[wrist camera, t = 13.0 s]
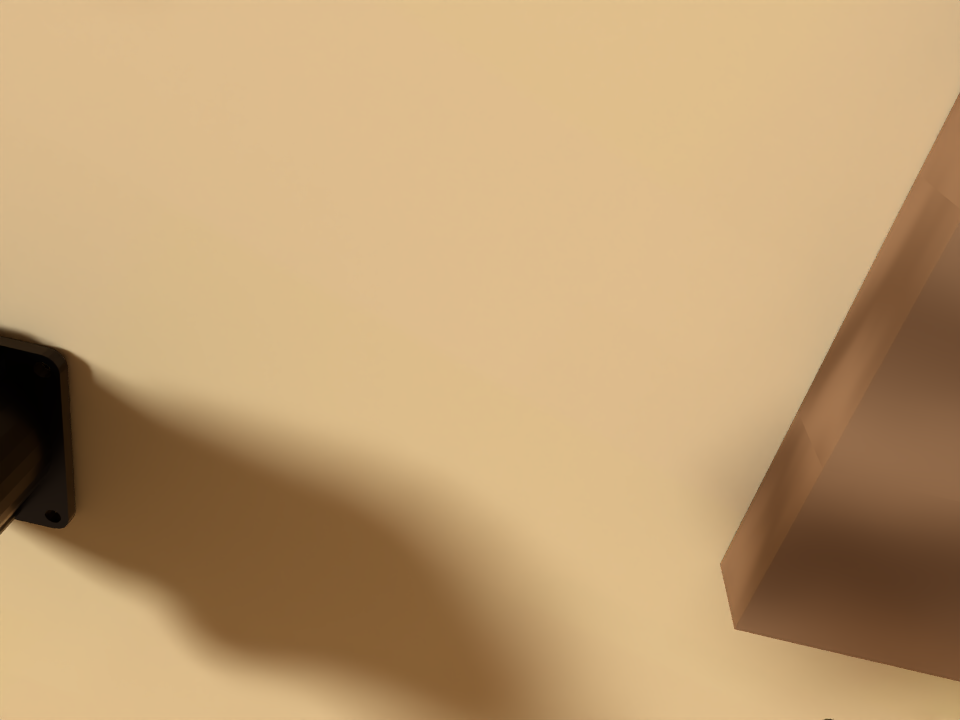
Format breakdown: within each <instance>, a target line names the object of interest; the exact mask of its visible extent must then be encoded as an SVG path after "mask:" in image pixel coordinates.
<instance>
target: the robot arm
mask: <svg viewBox="0 0 960 720" xmlns="http://www.w3.org/2000/svg"><path fill="white" fill-rule="evenodd" d="M42 362H43V363H45V364H47V365H48V366H49V367H50V370H49V369H47V368H45V367H44V366H43V365H42ZM55 511H56V512H55ZM74 516H75V495H74V476H73V458H72V439H71V421H70V402H69V384H68V366H67V363H66V360H65V359H64V357H63V356H62V355H61V354H60V353H59V352H57V351H56V350H54V349H51V348H48V347H44V346H40V345H35V344H31V343H27V342H23V341H18V340H14V339H10V338H6V337H2V336H0V534H1V533H2V532H3V531H4V530H5V529H6V528H7V527H8V525H9V524H10V523H11V522H12V521H13V520H14V519H16V520H21V521H25V522H29V523H34V524H38V525H42V526H47V527H51V528H58V529H60V528H64V527H65V526H66V525H67V524H68V523H69V522H70V521H71V520H72V518H73V517H74ZM824 720H832V719H824Z"/></svg>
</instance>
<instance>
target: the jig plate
mask: <svg viewBox="0 0 960 720" xmlns="http://www.w3.org/2000/svg"><path fill="white" fill-rule="evenodd" d="M720 565H721V570H722V574H723V579H724V583H725V588H726V592H727V597H728V601H729V606H730V610H731V615H732V620H733V624H734V629H736V630H741V631H745V632H749V633H753V634H758V635H762V636H766V637H771V638H775V639H779V640H784V641H788V642H792V643H797V644H801V645H805V646H809V647H814V648H818V649H822V650H827V651H831V652H835V653H840V654H844V655H848V656H852V657H857V658H861V659H865V660H870V661H874V662H878V663H883V664H887V665H891V666H896V667H900V668H904V669H908V670H913V671H917V672H921V673H926V674H930V675H934V676H939V677H943V678H947V679H951V680H956V681H960V93H959V95H958V97H957V99H956V101H955V103H954V105H953V107H952V109H951V111H950V113H949V115H948V117H947V119H946V121H945V123H944V125H943V127H942V129H941V131H940V133H939V135H938V137H937V139H936V141H935V143H934V145H933V147H932V149H931V151H930V152H929V154H928V156H927V158H926V160H925V162H924V164H923V166H922V168H921V170H920V172H919V174H918V176H917V178H916V180H915V182H914V184H913V186H912V188H911V190H910V192H909V194H908V196H907V198H906V200H905V202H904V204H903V206H902V208H901V210H900V211H899V213H898V215H897V217H896V219H895V221H894V223H893V225H892V227H891V229H890V231H889V233H888V235H887V237H886V239H885V241H884V243H883V245H882V247H881V249H880V251H879V253H878V255H877V257H876V259H875V261H874V263H873V265H872V267H871V269H870V271H869V272H868V274H867V276H866V278H865V280H864V282H863V284H862V286H861V288H860V290H859V292H858V294H857V296H856V298H855V300H854V302H853V304H852V306H851V308H850V310H849V312H848V314H847V316H846V318H845V320H844V322H843V324H842V326H841V328H840V330H839V332H838V333H837V335H836V337H835V339H834V341H833V343H832V345H831V347H830V349H829V351H828V353H827V355H826V357H825V359H824V361H823V363H822V365H821V367H820V369H819V371H818V373H817V375H816V377H815V379H814V381H813V383H812V385H811V387H810V389H809V391H808V393H807V394H806V396H805V398H804V400H803V402H802V404H801V406H800V408H799V410H798V412H797V414H796V416H795V418H794V420H793V422H792V424H791V426H790V428H789V430H788V432H787V434H786V436H785V438H784V440H783V442H782V444H781V446H780V448H779V450H778V452H777V454H776V455H775V457H774V459H773V461H772V463H771V465H770V467H769V469H768V471H767V473H766V475H765V477H764V479H763V481H762V483H761V485H760V487H759V489H758V491H757V493H756V495H755V497H754V499H753V501H752V503H751V505H750V507H749V509H748V511H747V513H746V515H745V516H744V518H743V520H742V522H741V524H740V526H739V528H738V530H737V532H736V534H735V536H734V538H733V540H732V542H731V544H730V546H729V548H728V550H727V552H726V554H725V556H724V558H723V560H722V562H721V564H720Z"/></svg>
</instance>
